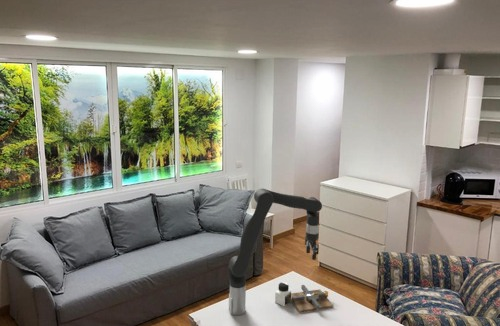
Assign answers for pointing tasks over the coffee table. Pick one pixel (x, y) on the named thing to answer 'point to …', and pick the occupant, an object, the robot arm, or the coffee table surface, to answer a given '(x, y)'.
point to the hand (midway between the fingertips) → (310, 256)
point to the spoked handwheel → (310, 296)
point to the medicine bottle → (283, 294)
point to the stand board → (310, 303)
